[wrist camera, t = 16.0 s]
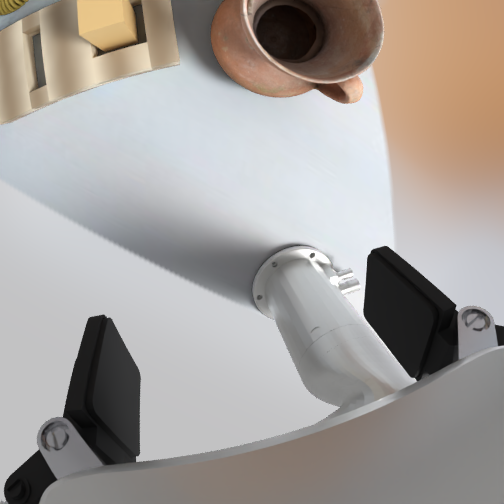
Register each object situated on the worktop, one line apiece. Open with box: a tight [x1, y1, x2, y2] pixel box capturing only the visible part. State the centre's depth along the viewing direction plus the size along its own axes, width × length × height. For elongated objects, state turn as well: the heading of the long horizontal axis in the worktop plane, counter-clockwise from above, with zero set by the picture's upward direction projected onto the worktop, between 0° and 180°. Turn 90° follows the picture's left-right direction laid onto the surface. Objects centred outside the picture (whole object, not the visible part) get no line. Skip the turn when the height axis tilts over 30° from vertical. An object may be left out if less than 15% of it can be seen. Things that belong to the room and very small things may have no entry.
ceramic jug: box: [211, 0, 384, 104], centre depth 24 cm, size 18×14×14 cm
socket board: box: [0, 0, 180, 125], centre depth 24 cm, size 22×12×3 cm, turn 98°
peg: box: [77, 0, 138, 52], centre depth 21 cm, size 4×4×10 cm
